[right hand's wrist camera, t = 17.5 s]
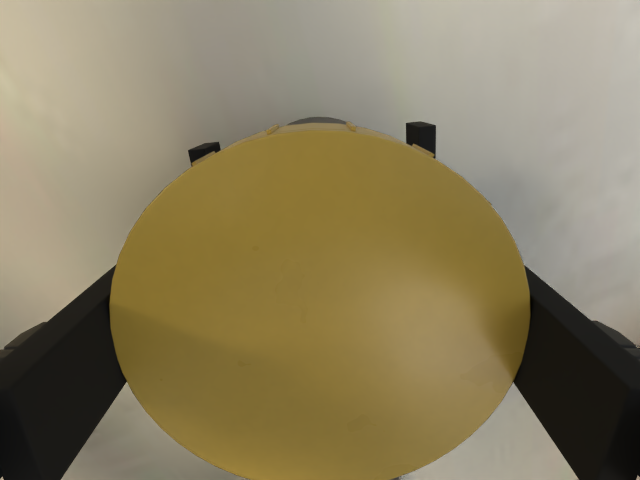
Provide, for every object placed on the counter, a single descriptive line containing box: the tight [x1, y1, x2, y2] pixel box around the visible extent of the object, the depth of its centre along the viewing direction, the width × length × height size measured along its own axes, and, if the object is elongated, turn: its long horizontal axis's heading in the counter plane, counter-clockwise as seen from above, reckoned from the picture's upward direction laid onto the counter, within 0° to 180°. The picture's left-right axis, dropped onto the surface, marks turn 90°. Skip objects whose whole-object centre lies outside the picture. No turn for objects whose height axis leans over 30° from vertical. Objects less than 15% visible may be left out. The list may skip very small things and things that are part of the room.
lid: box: [109, 122, 531, 480], centre depth 11 cm, size 11×11×2 cm
